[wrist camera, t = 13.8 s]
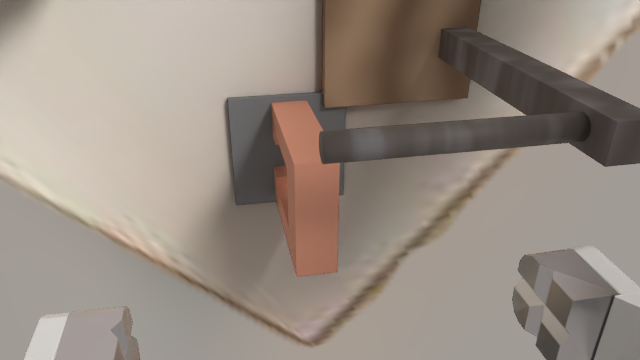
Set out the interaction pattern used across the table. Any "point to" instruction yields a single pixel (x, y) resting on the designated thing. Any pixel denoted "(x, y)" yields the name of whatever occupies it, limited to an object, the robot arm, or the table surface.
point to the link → (305, 190)
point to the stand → (455, 86)
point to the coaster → (268, 142)
